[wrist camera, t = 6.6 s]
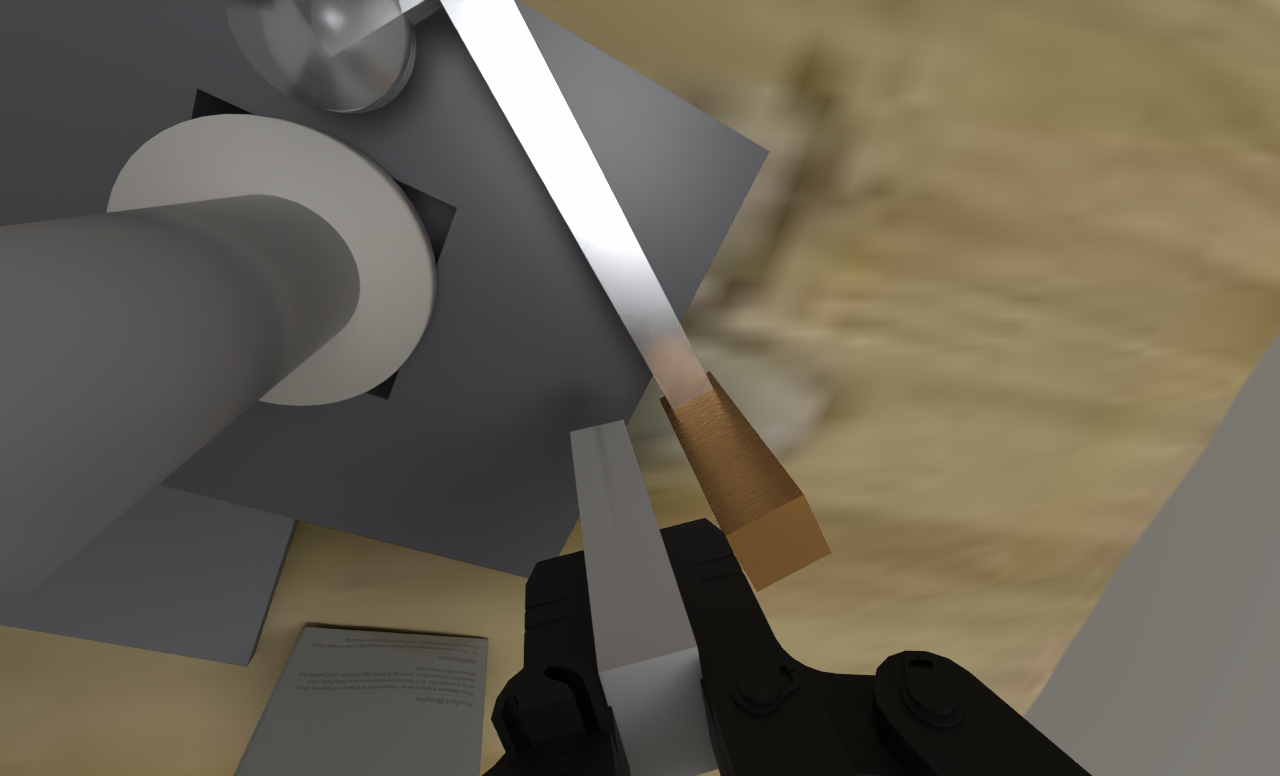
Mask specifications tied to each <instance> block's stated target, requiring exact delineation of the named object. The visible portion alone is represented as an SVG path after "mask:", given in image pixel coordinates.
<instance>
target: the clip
mask: <svg viewBox="0 0 1280 776" xmlns="http://www.w3.org/2000/svg"><path fill="white" fill-rule="evenodd" d="M223 1H224V7H225V12H226V15H227V19H228V23H229V25H230V28H231V30H232V33H233V35H234V37H235V39H236V41H237V43H238V45H239V47H240V49H241V50H242V52H243V53H244V55H245V56H246V58H247V59H248V61H249V62H250V63H251V64H252V66H253V67H254V68H255V69H256V70H257V72H258V73H259V74H260V75H261V76H262V77H263V78H264V79H265V80H266V81H268V82H269V83H270V84H271V85H273V86H274V87H275V88H276V89H278V90H279V91H281V92H282V93H284V94H285V95H287V96H288V97H290V98H292V99H294V100H296V101H298V102H301V103H303V104H306V105H309V106H312V107H316V108H320V109H325V110H330V111H335V112H340V113H348V114H356V113H365V112H370V111H373V110H376V109H379V108H381V107H383V106H385V105H386V104H388V103H389V102H391V101H392V100H393V99H394V98H395V97H396V96H397V95H398V94H399V93H400V92H401V91H402V90H403V88H404V87H405V85H406V84H407V82H408V80H409V78H410V76H411V73H412V70H413V67H414V62H415V57H416V33H415V27H414V25H415V24H417V23H419V22H420V21H422V20H423V19H425V18H427V17H428V16H430V15H432V14H433V13H435V12H437V11H438V10H440V9H441V8H443V7H444V8H445V10H446V12H447V13H448V15H449V17H450V19H451V20H452V22H453V24H454V26H455V27H456V29H457V31H458V33H459V34H460V36H461V38H462V40H463V41H464V43H465V45H466V47H467V49H468V50H469V52H470V54H471V56H472V57H473V59H474V61H475V63H476V64H477V66H478V68H479V70H480V71H481V73H482V75H483V77H484V78H485V80H486V82H487V84H488V85H489V87H490V89H491V91H492V92H493V94H494V96H495V98H496V100H497V101H498V103H499V105H500V107H501V108H502V110H503V112H504V114H505V115H506V117H507V119H508V121H509V122H510V124H511V126H512V128H513V129H514V131H515V133H516V135H517V136H518V138H519V140H520V142H521V144H522V145H523V147H524V149H525V151H526V152H527V154H528V156H529V158H530V159H531V161H532V163H533V165H534V166H535V168H536V170H537V172H538V173H539V175H540V177H541V179H542V180H543V182H544V184H545V186H546V188H547V189H548V191H549V193H550V195H551V196H552V198H553V200H554V202H555V203H556V205H557V207H558V209H559V210H560V212H561V214H562V216H563V217H564V219H565V221H566V223H567V224H568V226H569V228H570V230H571V232H572V233H573V235H574V237H575V239H576V240H577V242H578V244H579V246H580V247H581V249H582V251H583V253H584V254H585V256H586V258H587V260H588V261H589V263H590V265H591V267H592V268H593V270H594V272H595V274H596V275H597V277H598V279H599V281H600V283H601V284H602V286H603V288H604V290H605V291H606V293H607V295H608V297H609V298H610V300H611V302H612V304H613V305H614V307H615V309H616V311H617V312H618V314H619V316H620V318H621V319H622V321H623V323H624V325H625V327H626V328H627V330H628V332H629V334H630V335H631V337H632V339H633V341H634V342H635V344H636V346H637V348H638V349H639V351H640V353H641V355H642V356H643V358H644V360H645V362H646V363H647V365H648V367H649V369H650V371H651V372H652V374H653V376H654V378H655V379H656V381H657V383H658V385H659V386H660V388H661V390H662V392H663V393H664V395H665V396H664V397H662V398H660V401H661V403H662V405H663V408H664V410H665V412H666V414H667V416H668V418H669V420H670V422H671V424H672V427H673V429H674V431H675V433H676V435H677V437H678V439H679V441H680V443H681V446H682V448H683V450H684V452H685V454H686V456H687V458H688V460H689V462H690V465H691V467H692V469H693V471H694V473H695V475H696V477H697V479H698V481H699V484H700V486H701V488H702V490H703V492H704V494H705V496H706V498H707V500H708V503H709V505H710V507H711V509H712V511H713V513H714V515H715V517H716V519H717V522H718V524H719V526H720V528H721V530H722V531H723V532H724V534H725V536H726V538H727V540H728V542H729V544H730V546H731V548H732V550H733V552H734V553H735V555H736V557H737V558H738V560H739V562H740V563H741V565H742V567H743V568H744V570H745V572H746V574H747V575H748V577H749V579H750V580H751V582H752V584H753V585H754V587H755V589H756V590H757V592H758V591H760V590H762V589H764V588H765V587H767V586H769V585H771V584H773V583H775V582H777V581H779V580H781V579H783V578H785V577H786V576H788V575H790V574H792V573H794V572H796V571H798V570H800V569H802V568H804V567H805V566H807V565H809V564H811V563H813V562H815V561H817V560H819V559H821V558H823V557H825V556H826V555H828V554H830V553H831V551H830V549H829V547H828V544H827V542H826V540H825V538H824V536H823V534H822V532H821V530H820V528H819V525H818V523H817V521H816V519H815V517H814V515H813V513H812V511H811V509H810V507H809V504H808V502H807V500H806V498H805V496H804V494H803V493H802V491H801V490H800V489H799V488H798V486H797V485H796V484H795V482H794V481H793V480H792V478H791V477H790V476H789V474H788V473H787V472H786V471H785V469H784V468H783V467H782V465H781V464H780V463H779V461H778V460H777V459H776V457H775V456H774V455H773V454H772V452H771V451H770V450H769V448H768V447H767V446H766V444H765V443H764V442H763V440H762V439H761V438H760V437H759V435H758V434H757V433H756V431H755V430H754V429H753V427H752V426H751V425H750V423H749V422H748V421H747V420H746V418H745V417H744V416H743V414H742V413H741V412H740V410H739V409H738V408H737V406H736V405H735V404H734V403H733V401H732V400H731V399H730V397H729V396H728V395H727V393H726V392H725V391H724V389H723V388H722V387H721V386H720V384H719V383H718V382H717V380H716V379H715V378H714V376H713V375H712V374H711V372H710V371H709V372H707V373H705V371H704V369H703V367H702V366H701V364H700V362H699V360H698V358H697V356H696V354H695V352H694V350H693V348H692V346H691V344H690V342H689V340H688V338H687V336H686V334H685V333H684V331H683V329H682V327H681V325H680V323H679V321H678V319H677V317H676V315H675V313H674V311H673V309H672V307H671V305H670V303H669V301H668V300H667V298H666V296H665V294H664V292H663V290H662V288H661V286H660V284H659V282H658V280H657V278H656V276H655V274H654V272H653V270H652V269H651V267H650V265H649V263H648V261H647V259H646V257H645V255H644V253H643V251H642V249H641V247H640V245H639V243H638V241H637V239H636V237H635V236H634V234H633V232H632V230H631V228H630V226H629V224H628V222H627V220H626V218H625V216H624V214H623V212H622V210H621V208H620V206H619V204H618V203H617V201H616V199H615V197H614V195H613V193H612V191H611V189H610V187H609V185H608V183H607V181H606V179H605V177H604V175H603V173H602V171H601V170H600V168H599V166H598V164H597V162H596V160H595V158H594V156H593V154H592V152H591V150H590V148H589V146H588V144H587V142H586V140H585V138H584V137H583V135H582V133H581V131H580V129H579V127H578V125H577V123H576V121H575V119H574V117H573V115H572V113H571V111H570V109H569V107H568V105H567V104H566V102H565V100H564V98H563V96H562V94H561V92H560V90H559V88H558V86H557V84H556V82H555V80H554V78H553V76H552V74H551V73H550V71H549V69H548V67H547V65H546V63H545V61H544V59H543V57H542V55H541V53H540V51H539V49H538V47H537V45H536V43H535V41H534V40H533V38H532V36H531V34H530V32H529V30H528V28H527V26H526V24H525V22H524V20H523V18H522V16H521V14H520V12H519V10H518V8H517V7H516V5H515V3H514V1H513V0H223Z"/></svg>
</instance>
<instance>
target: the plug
mask: <svg viewBox="0 0 1280 776" xmlns="http://www.w3.org/2000/svg"><path fill="white" fill-rule="evenodd" d="M436 292H437V272H436V264H435V257H434V253H433V249H432V246H431V242H430V238H429V236H428V234H427V231H426V229H425V226H424V224H423V222H422V220H421V218H420V216H419V214H418V213H417V211H416V209H415V207H414V205H413V204H412V202H411V201H410V200H409V198H408V197H407V196H406V194H405V193H404V191H403V190H402V189H401V187H400V186H399V185H398V184H397V183H396V182H395V181H394V180H393V179H392V178H391V176H390V175H389V174H388V173H387V172H386V171H385V170H384V169H382V168H381V167H380V166H379V165H378V164H377V163H376V162H374V161H373V160H372V159H371V158H370V157H368V156H367V155H365V154H364V153H362V152H361V151H360V150H358V149H357V148H355V147H354V146H352V145H351V144H349V143H347V142H345V141H343V140H341V139H340V138H338V137H336V136H334V135H332V134H329V133H327V132H325V131H322V130H320V129H317V128H315V127H312V126H308V125H305V124H301V123H298V122H294V121H289V120H283V119H276V118H269V117H262V116H255V115H247V114H221V115H213V116H204V117H200V118H196V119H192V120H189V121H185V122H181V123H179V124H177V125H175V126H173V127H170V128H168V129H166V130H164V131H162V132H160V133H159V134H157V135H156V136H154V137H153V138H151V139H150V140H148V141H147V142H146V143H145V144H143V145H142V146H141V147H140V148H139V149H138V150H137V151H136V152H135V153H134V154H133V155H132V156H131V158H130V159H129V160H128V162H127V163H126V165H125V166H124V167H123V169H122V170H121V172H120V173H119V176H118V178H117V180H116V182H115V184H114V186H113V188H112V191H111V195H110V199H109V203H108V207H107V213H101V214H93V215H85V216H77V217H69V218H61V219H53V220H46V221H38V222H30V223H22V224H14V225H6V226H0V615H1V614H3V613H5V612H6V611H8V610H10V609H11V608H12V607H14V606H15V605H16V604H17V603H18V602H19V601H21V600H22V599H23V598H24V597H25V596H27V595H28V594H29V593H30V592H31V591H32V590H34V589H35V588H36V587H37V586H38V585H40V584H41V583H42V582H43V581H44V580H46V579H47V578H48V577H49V576H50V575H51V574H53V573H54V572H55V571H56V570H57V569H59V568H60V567H61V566H62V565H63V564H65V563H66V562H67V561H68V560H69V559H70V558H72V557H73V556H74V555H75V554H76V553H78V552H79V551H80V550H81V549H82V548H83V547H85V546H86V545H87V544H88V543H89V542H91V541H92V540H93V539H94V538H95V537H97V536H98V535H99V534H100V533H101V532H102V531H104V530H105V529H106V528H107V527H108V526H110V525H111V524H112V523H113V522H114V521H116V520H117V519H118V518H119V517H120V516H121V515H123V514H124V513H125V512H126V511H127V510H129V509H130V508H131V507H132V506H133V505H134V504H136V503H137V502H138V501H139V500H140V499H142V498H143V497H144V496H145V495H146V494H148V493H149V492H150V491H151V490H152V489H153V488H155V487H156V486H157V485H158V484H159V483H161V482H162V481H163V480H164V479H165V478H167V477H168V476H169V475H170V474H171V473H172V472H174V471H175V470H176V469H177V468H178V467H180V466H181V465H182V464H183V463H184V462H185V461H187V460H188V459H189V458H190V457H191V456H193V455H194V454H195V453H196V452H197V451H199V450H200V449H201V448H202V447H203V446H204V445H206V444H207V443H208V442H209V441H210V440H212V439H213V438H214V437H215V436H216V435H218V434H219V433H220V432H221V431H222V430H223V429H225V428H226V427H227V426H228V425H229V424H231V423H232V422H233V421H234V420H235V419H236V418H238V417H239V416H240V415H241V414H242V413H244V412H245V411H246V410H247V409H248V408H250V407H251V406H252V405H253V404H254V403H255V402H257V401H258V400H259V401H262V402H268V403H274V404H281V405H295V406H308V405H322V404H328V403H334V402H339V401H342V400H346V399H349V398H352V397H355V396H358V395H360V394H362V393H364V392H367V391H369V390H371V389H372V388H374V387H376V386H377V385H379V384H380V383H382V382H384V381H385V380H386V379H387V378H389V377H390V376H391V375H392V374H393V373H395V372H396V371H397V370H398V369H399V367H400V366H401V365H402V364H403V363H404V362H405V361H406V360H407V358H408V357H409V355H410V354H411V353H412V351H413V350H414V348H415V347H416V345H417V344H418V342H419V341H420V339H421V338H422V336H423V335H424V333H425V331H426V328H427V326H428V324H429V322H430V319H431V316H432V313H433V309H434V306H435V299H436Z"/></svg>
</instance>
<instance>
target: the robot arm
mask: <svg viewBox="0 0 1280 776" xmlns="http://www.w3.org/2000/svg"><path fill="white" fill-rule="evenodd" d="M570 437H571V445H572V454H573V462H574V471H575V479H576V487H577V496H578V504H579V513H580V521H581V530H582V538H583V547H584V550H583V551H579V552H575V553H571V554H567V555H563V556H559V557H555V558H551V559H547V560H543V561H539V562H537V563H536V565H535V567H534V569H533V571H532V573H531V575H530V577H529V579H528V581H527V583H526V593H525V609H526V613H525V634H524V668H523V669H522V670H521V671H519V672H518V673H517V674H516V675H515V676H514V677H512V678H511V679H510V680H509V681H508V682H507V684H506V685H505V687H504V688H503V690H502V691H501V693H500V694H499V696H498V697H497V699H496V703H495V706H494V710H493V714H492V717H491V720H492V722H493V725H494V727H495V729H496V731H497V734H498V736H499V738H500V740H501V743H502V745H503V747H504V749H505V751H506V753H505V754H504V755H503V756H502V757H501V759H500V760H499V761H498V762H497V763H496V764H495V765H494V766H493V767H492V768H491V769H490V770H488V771H487V772H486V773H484V774H483V775H482V776H696V775H699V774H702V773H706V772H709V771H712V770H716V769H718V768H719V772H720V775H721V776H1092V775H1091V774H1089V773H1088V772H1087V771H1086V770H1085V769H1083V768H1082V767H1081V766H1080V765H1079V764H1077V763H1076V762H1075V761H1074V760H1073V759H1072V758H1070V757H1069V756H1068V755H1067V754H1066V753H1065V752H1063V751H1062V750H1061V749H1060V748H1058V747H1057V746H1056V745H1055V744H1054V743H1053V742H1052V741H1050V740H1049V739H1048V738H1047V737H1046V736H1044V735H1043V734H1042V733H1041V732H1040V731H1038V730H1037V729H1036V728H1035V727H1034V726H1033V725H1031V724H1030V723H1029V722H1028V721H1027V720H1026V719H1024V718H1023V717H1022V716H1021V715H1020V714H1018V713H1017V712H1016V711H1015V710H1014V709H1013V708H1011V707H1010V706H1009V705H1008V704H1007V703H1005V702H1004V701H1003V700H1002V699H1001V698H1000V697H998V696H997V695H996V694H995V693H994V692H992V691H991V690H990V689H989V688H988V687H987V686H985V685H984V684H983V683H982V682H981V681H979V680H978V679H977V678H976V677H975V676H974V675H972V674H971V673H970V672H969V671H967V670H966V669H964V668H963V667H961V666H959V665H958V664H956V663H955V662H953V661H952V660H950V659H949V658H945V657H942V656H939V655H936V654H933V653H930V652H927V651H903V652H900V653H897V654H895V655H892V656H889V657H888V658H887V659H886V660H885V661H884V662H883V663H882V664H881V665H880V666H879V667H878V668H877V671H876V675H854V674H835V673H828V672H822V671H818V670H816V669H813V668H810V667H807V666H805V665H803V664H802V663H800V662H799V661H797V660H795V659H794V658H792V657H791V656H790V655H789V654H788V653H787V652H786V651H785V650H784V649H783V648H782V647H781V645H780V644H779V642H778V641H777V639H776V638H775V636H774V634H773V632H772V630H771V628H770V626H769V624H768V622H767V620H766V618H765V616H764V613H763V611H762V609H761V607H760V605H759V603H758V601H757V599H756V597H755V595H754V593H753V591H752V589H751V587H750V585H749V583H748V581H747V579H746V577H745V575H744V573H743V572H742V569H741V567H740V565H739V563H738V561H737V558H736V556H734V553H733V550H732V548H731V546H730V544H729V542H728V540H727V538H726V536H725V534H724V532H723V531H721V530H720V529H719V528H717V527H716V526H715V525H714V524H712V523H711V522H710V521H708V520H707V519H706V518H703V519H699V520H695V521H691V522H687V523H683V524H679V525H675V526H671V527H667V528H663V529H660V530H659V527H658V524H657V521H656V518H655V515H654V512H653V509H652V506H651V503H650V500H649V496H648V493H647V490H646V487H645V484H644V481H643V478H642V475H641V472H640V469H639V466H638V463H637V460H636V456H635V453H634V450H633V447H632V444H631V441H630V438H629V435H628V432H627V429H626V426H625V423H624V420H620V421H615V422H611V423H607V424H603V425H598V426H593V427H589V428H585V429H581V430H576V431H572V432H570Z"/></svg>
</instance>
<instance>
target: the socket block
mask: <svg viewBox="0 0 1280 776" xmlns="http://www.w3.org/2000/svg"><path fill="white" fill-rule="evenodd" d="M513 1H514V3H515V5H516V7H517V8H518V10H519V12H520V14H521V16H522V18H523V20H524V22H525V24H526V26H527V28H528V30H529V32H530V34H531V36H532V38H533V40H534V41H535V43H536V45H537V47H538V49H539V51H540V53H541V55H542V57H543V59H544V61H545V63H546V65H547V67H548V69H549V71H550V73H551V74H552V76H553V78H554V80H555V82H556V84H557V86H558V88H559V90H560V92H561V94H562V96H563V98H564V100H565V102H566V104H567V105H568V107H569V109H570V111H571V113H572V115H573V117H574V119H575V121H576V123H577V125H578V127H579V129H580V131H581V133H582V135H583V137H584V138H585V140H586V142H587V144H588V146H589V148H590V150H591V152H592V154H593V156H594V158H595V160H596V162H597V164H598V166H599V168H600V170H601V171H602V173H603V175H604V177H605V179H606V181H607V183H608V185H609V187H610V189H611V191H612V193H613V195H614V197H615V199H616V201H617V203H618V204H619V206H620V208H621V210H622V212H623V214H624V216H625V218H626V220H627V222H628V224H629V226H630V228H631V230H632V232H633V234H634V236H635V237H636V239H637V241H638V243H639V245H640V247H641V249H642V251H643V253H644V255H645V257H646V259H647V261H648V263H649V265H650V267H651V269H652V270H653V272H654V274H655V276H656V278H657V280H658V282H659V284H660V286H661V288H662V290H663V292H664V294H665V296H666V298H667V300H668V301H669V303H670V305H671V307H672V309H673V311H674V313H675V315H676V317H677V319H678V321H679V323H680V322H681V320H682V318H683V316H684V314H685V312H686V310H687V308H688V307H689V305H690V303H691V301H692V299H693V297H694V295H695V293H696V291H697V289H698V287H699V285H700V283H701V282H702V280H703V278H704V276H705V274H706V272H707V270H708V268H709V266H710V264H711V262H712V260H713V259H714V257H715V255H716V253H717V251H718V249H719V247H720V245H721V243H722V241H723V239H724V237H725V236H726V234H727V232H728V230H729V228H730V226H731V224H732V222H733V220H734V218H735V216H736V214H737V212H738V211H739V209H740V207H741V205H742V203H743V201H744V199H745V197H746V195H747V193H748V191H749V189H750V188H751V186H752V184H753V182H754V180H755V178H756V176H757V174H758V172H759V170H760V168H761V166H762V165H763V163H764V161H765V159H766V157H767V155H768V153H769V151H767V150H766V149H764V148H762V147H761V146H759V145H757V144H756V143H754V142H752V141H751V140H749V139H747V138H746V137H744V136H742V135H741V134H739V133H737V132H736V131H734V130H732V129H731V128H729V127H728V126H726V125H724V124H723V123H721V122H719V121H718V120H716V119H714V118H713V117H711V116H709V115H708V114H706V113H704V112H703V111H701V110H699V109H698V108H696V107H694V106H693V105H691V104H689V103H688V102H686V101H684V100H683V99H681V98H679V97H678V96H676V95H674V94H673V93H671V92H669V91H668V90H666V89H664V88H663V87H661V86H659V85H658V84H656V83H654V82H653V81H651V80H650V79H648V78H646V77H645V76H643V75H641V74H640V73H638V72H636V71H635V70H633V69H631V68H630V67H628V66H626V65H625V64H623V63H621V62H620V61H618V60H616V59H615V58H613V57H611V56H610V55H608V54H606V53H605V52H603V51H601V50H600V49H598V48H596V47H595V46H593V45H591V44H590V43H588V42H586V41H585V40H583V39H581V38H580V37H578V36H576V35H575V34H573V33H571V32H570V31H568V30H567V29H565V28H563V27H562V26H560V25H558V24H557V23H555V22H553V21H552V20H550V19H548V18H547V17H545V16H543V15H542V14H540V13H538V12H537V11H535V10H533V9H532V8H530V7H528V6H527V5H525V4H523V3H522V2H520V1H518V0H513ZM414 27H415V33H416V57H415V62H414V67H413V70H412V73H411V76H410V78H409V80H408V82H407V84H406V85H405V87H404V88H403V90H402V91H401V92H400V93H399V94H398V95H397V96H396V97H395V98H394V99H393V100H392V101H391V102H389V103H388V104H386V105H385V106H383V107H381V108H379V109H376V110H373V111H370V112H365V113H356V114H348V113H340V112H335V111H330V110H325V109H320V108H316V107H312V106H309V105H306V104H303V103H301V102H298V101H296V100H294V99H292V98H290V97H288V96H287V95H285V94H284V93H282V92H281V91H279V90H278V89H276V88H275V87H274V86H273V85H271V84H270V83H269V82H268V81H266V80H265V79H264V78H263V77H262V76H261V75H260V74H259V73H258V72H257V70H256V69H255V68H254V67H253V66H252V64H251V63H250V62H249V61H248V59H247V58H246V56H245V55H244V53H243V52H242V50H241V49H240V47H239V45H238V43H237V41H236V39H235V37H234V35H233V33H232V30H231V28H230V25H229V23H228V19H227V15H226V12H225V7H224V1H223V0H0V226H6V225H14V224H22V223H30V222H38V221H46V220H53V219H61V218H69V217H77V216H85V215H93V214H101V213H107V207H108V203H109V199H110V195H111V191H112V188H113V186H114V184H115V182H116V180H117V178H118V176H119V173H120V172H121V170H122V169H123V167H124V166H125V165H126V163H127V162H128V160H129V159H130V158H131V156H132V155H133V154H134V153H135V152H136V151H137V150H138V149H139V148H140V147H141V146H142V145H143V144H145V143H146V142H147V141H148V140H150V139H151V138H153V137H154V136H156V135H157V134H159V133H160V132H162V131H164V130H166V129H168V128H170V127H173V126H175V125H177V124H179V123H181V122H185V121H189V120H192V119H196V118H200V117H204V116H213V115H221V114H247V115H255V116H262V117H269V118H276V119H283V120H289V121H294V122H298V123H301V124H305V125H308V126H312V127H315V128H317V129H320V130H322V131H325V132H327V133H329V134H332V135H334V136H336V137H338V138H340V139H341V140H343V141H345V142H347V143H349V144H351V145H352V146H354V147H355V148H357V149H358V150H360V151H361V152H362V153H364V154H365V155H367V156H368V157H370V158H371V159H372V160H373V161H374V162H376V163H377V164H378V165H379V166H380V167H381V168H382V169H384V170H385V171H386V172H387V173H388V174H389V175H390V176H391V178H392V179H393V180H394V181H395V182H396V183H397V184H398V185H399V186H400V187H401V189H402V190H403V191H404V193H405V194H406V196H407V197H408V198H409V200H410V201H411V202H412V204H413V205H414V207H415V209H416V211H417V213H418V214H419V216H420V218H421V220H422V222H423V224H424V226H425V229H426V231H427V234H428V236H429V238H430V242H431V246H432V249H433V253H434V257H435V264H436V272H437V292H436V299H435V306H434V309H433V313H432V316H431V319H430V322H429V324H428V326H427V328H426V331H425V333H424V335H423V336H422V338H421V339H420V341H419V342H418V344H417V345H416V347H415V348H414V350H413V351H412V353H411V354H410V355H409V357H408V358H407V360H406V361H405V362H404V363H403V364H402V365H401V366H400V367H399V369H398V370H397V371H396V372H395V373H393V374H392V375H391V376H390V377H389V378H387V379H386V380H385V381H384V382H382V383H380V384H379V385H377V386H376V387H374V388H372V389H371V390H369V391H367V392H364V393H362V394H360V395H358V396H355V397H352V398H349V399H346V400H342V401H339V402H334V403H328V404H322V405H308V406H295V405H281V404H274V403H268V402H262V401H259V400H258V401H257V402H255V403H254V404H253V405H252V406H251V407H250V408H248V409H247V410H246V411H245V412H244V413H242V414H241V415H240V416H239V417H238V418H236V419H235V420H234V421H233V422H232V423H231V424H229V425H228V426H227V427H226V428H225V429H223V430H222V431H221V432H220V433H219V434H218V435H216V436H215V437H214V438H213V439H212V440H210V441H209V442H208V443H207V444H206V445H204V446H203V447H202V448H201V449H200V450H199V451H197V452H196V453H195V454H194V455H193V456H191V457H190V458H189V459H188V460H187V461H185V462H184V463H183V464H182V465H181V466H180V467H178V468H177V469H176V470H175V471H174V472H172V473H171V474H170V475H169V476H168V477H167V478H165V479H164V480H163V481H162V482H161V483H159V484H158V485H162V486H166V487H170V488H174V489H178V490H182V491H186V492H190V493H194V494H198V495H202V496H205V497H209V498H213V499H217V500H221V501H225V502H229V503H233V504H237V505H241V506H245V507H249V508H253V509H257V510H261V511H265V512H269V513H273V514H277V515H280V516H284V517H288V518H292V519H296V520H300V521H304V522H308V523H312V524H316V525H320V526H324V527H328V528H332V529H336V530H340V531H344V532H348V533H352V534H356V535H359V536H363V537H367V538H371V539H375V540H379V541H383V542H387V543H391V544H395V545H399V546H403V547H407V548H411V549H415V550H419V551H423V552H427V553H431V554H435V555H438V556H442V557H446V558H450V559H454V560H458V561H462V562H466V563H470V564H474V565H478V566H482V567H486V568H490V569H494V570H498V571H502V572H506V573H510V574H514V575H517V576H521V577H525V578H529V577H530V575H531V573H532V571H533V569H534V567H535V565H536V563H537V562H539V561H543V560H547V559H551V558H555V557H558V556H559V554H560V552H561V550H562V548H563V546H564V544H565V543H566V541H567V539H568V537H569V535H570V533H571V531H572V529H573V527H574V525H575V523H576V521H577V519H578V518H579V516H580V513H579V504H578V496H577V487H576V479H575V471H574V462H573V454H572V445H571V437H570V432H572V431H576V430H581V429H585V428H589V427H593V426H598V425H603V424H607V423H611V422H615V421H620V420H624V423H625V426H626V425H627V424H628V422H629V420H630V418H631V416H632V414H633V412H634V410H635V408H636V406H637V404H638V402H639V401H640V399H641V397H642V395H643V393H644V391H645V389H646V387H647V385H648V383H649V381H650V379H651V377H652V376H653V374H652V372H651V371H650V369H649V367H648V365H647V363H646V362H645V360H644V358H643V356H642V355H641V353H640V351H639V349H638V348H637V346H636V344H635V342H634V341H633V339H632V337H631V335H630V334H629V332H628V330H627V328H626V327H625V325H624V323H623V321H622V319H621V318H620V316H619V314H618V312H617V311H616V309H615V307H614V305H613V304H612V302H611V300H610V298H609V297H608V295H607V293H606V291H605V290H604V288H603V286H602V284H601V283H600V281H599V279H598V277H597V275H596V274H595V272H594V270H593V268H592V267H591V265H590V263H589V261H588V260H587V258H586V256H585V254H584V253H583V251H582V249H581V247H580V246H579V244H578V242H577V240H576V239H575V237H574V235H573V233H572V232H571V230H570V228H569V226H568V224H567V223H566V221H565V219H564V217H563V216H562V214H561V212H560V210H559V209H558V207H557V205H556V203H555V202H554V200H553V198H552V196H551V195H550V193H549V191H548V189H547V188H546V186H545V184H544V182H543V180H542V179H541V177H540V175H539V173H538V172H537V170H536V168H535V166H534V165H533V163H532V161H531V159H530V158H529V156H528V154H527V152H526V151H525V149H524V147H523V145H522V144H521V142H520V140H519V138H518V136H517V135H516V133H515V131H514V129H513V128H512V126H511V124H510V122H509V121H508V119H507V117H506V115H505V114H504V112H503V110H502V108H501V107H500V105H499V103H498V101H497V100H496V98H495V96H494V94H493V92H492V91H491V89H490V87H489V85H488V84H487V82H486V80H485V78H484V77H483V75H482V73H481V71H480V70H479V68H478V66H477V64H476V63H475V61H474V59H473V57H472V56H471V54H470V52H469V50H468V49H467V47H466V45H465V43H464V41H463V40H462V38H461V36H460V34H459V33H458V31H457V29H456V27H455V26H454V24H453V22H452V20H451V19H450V17H449V15H448V13H447V12H446V10H445V8H444V7H443V8H441V9H440V10H438V11H437V12H435V13H433V14H432V15H430V16H428V17H427V18H425V19H423V20H422V21H420V22H419V23H417V24H415V25H414Z"/></svg>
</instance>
